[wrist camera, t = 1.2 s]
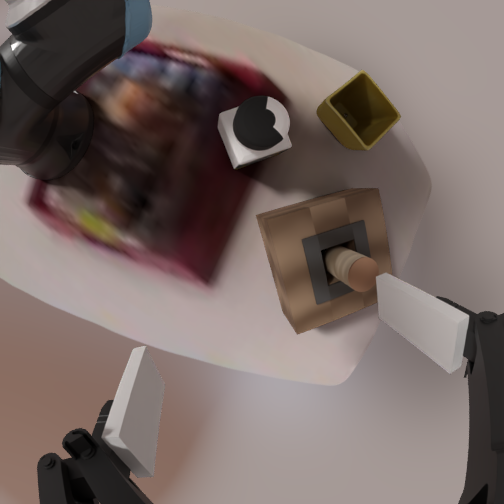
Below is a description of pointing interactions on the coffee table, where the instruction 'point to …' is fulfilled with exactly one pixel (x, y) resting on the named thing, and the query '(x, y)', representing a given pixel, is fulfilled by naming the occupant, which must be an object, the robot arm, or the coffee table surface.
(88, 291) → the coffee table surface
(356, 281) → the peg
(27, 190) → the coffee table surface
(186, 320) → the coffee table surface
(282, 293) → the socket block
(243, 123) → the medicine bottle
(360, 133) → the flower pot
